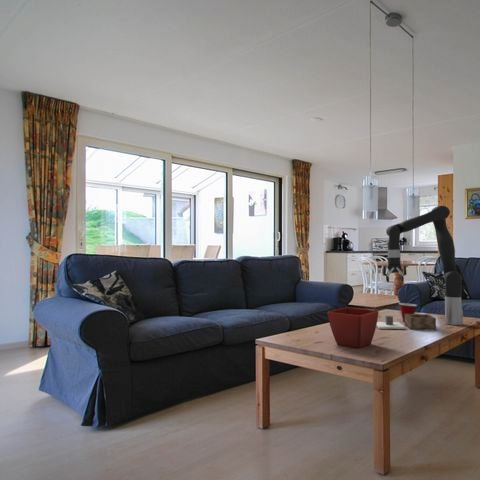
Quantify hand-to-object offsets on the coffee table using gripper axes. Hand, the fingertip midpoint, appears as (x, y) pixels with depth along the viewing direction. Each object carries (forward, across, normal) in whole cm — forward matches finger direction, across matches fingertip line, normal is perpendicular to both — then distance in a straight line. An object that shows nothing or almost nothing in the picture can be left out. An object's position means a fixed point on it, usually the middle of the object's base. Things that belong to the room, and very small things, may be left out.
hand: (394, 282), depth 267 cm
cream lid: (+26, +8, +13) cm, 30 cm away
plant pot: (+26, +37, +59) cm, 74 cm away
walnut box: (+27, -10, +13) cm, 31 cm away
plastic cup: (+27, -9, -5) cm, 29 cm away
